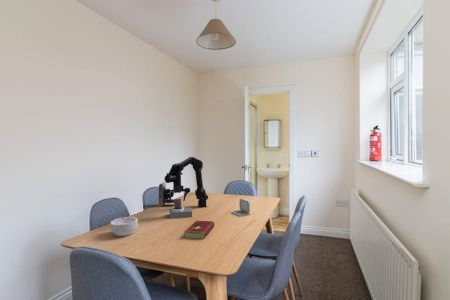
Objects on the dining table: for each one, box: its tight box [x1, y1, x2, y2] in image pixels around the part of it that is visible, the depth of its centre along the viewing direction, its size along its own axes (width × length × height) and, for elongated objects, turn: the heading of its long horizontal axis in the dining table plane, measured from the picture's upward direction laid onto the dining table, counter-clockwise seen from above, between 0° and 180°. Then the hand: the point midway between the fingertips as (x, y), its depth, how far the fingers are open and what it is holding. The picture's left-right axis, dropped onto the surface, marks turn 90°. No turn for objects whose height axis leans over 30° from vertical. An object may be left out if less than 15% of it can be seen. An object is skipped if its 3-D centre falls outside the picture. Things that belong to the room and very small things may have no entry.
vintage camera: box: [158, 181, 175, 207], centre depth 217 cm, size 10×16×20 cm, turn 89°
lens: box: [173, 198, 182, 209], centre depth 184 cm, size 5×5×8 cm
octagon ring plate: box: [169, 206, 193, 220], centre depth 184 cm, size 16×12×6 cm
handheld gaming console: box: [231, 198, 251, 217], centre depth 187 cm, size 13×9×10 cm
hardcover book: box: [183, 219, 215, 240], centre depth 149 cm, size 12×21×4 cm, turn 167°
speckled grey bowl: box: [109, 216, 139, 237], centre depth 148 cm, size 15×15×8 cm
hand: (177, 202), depth 184 cm, fingers open, 9 cm apart
